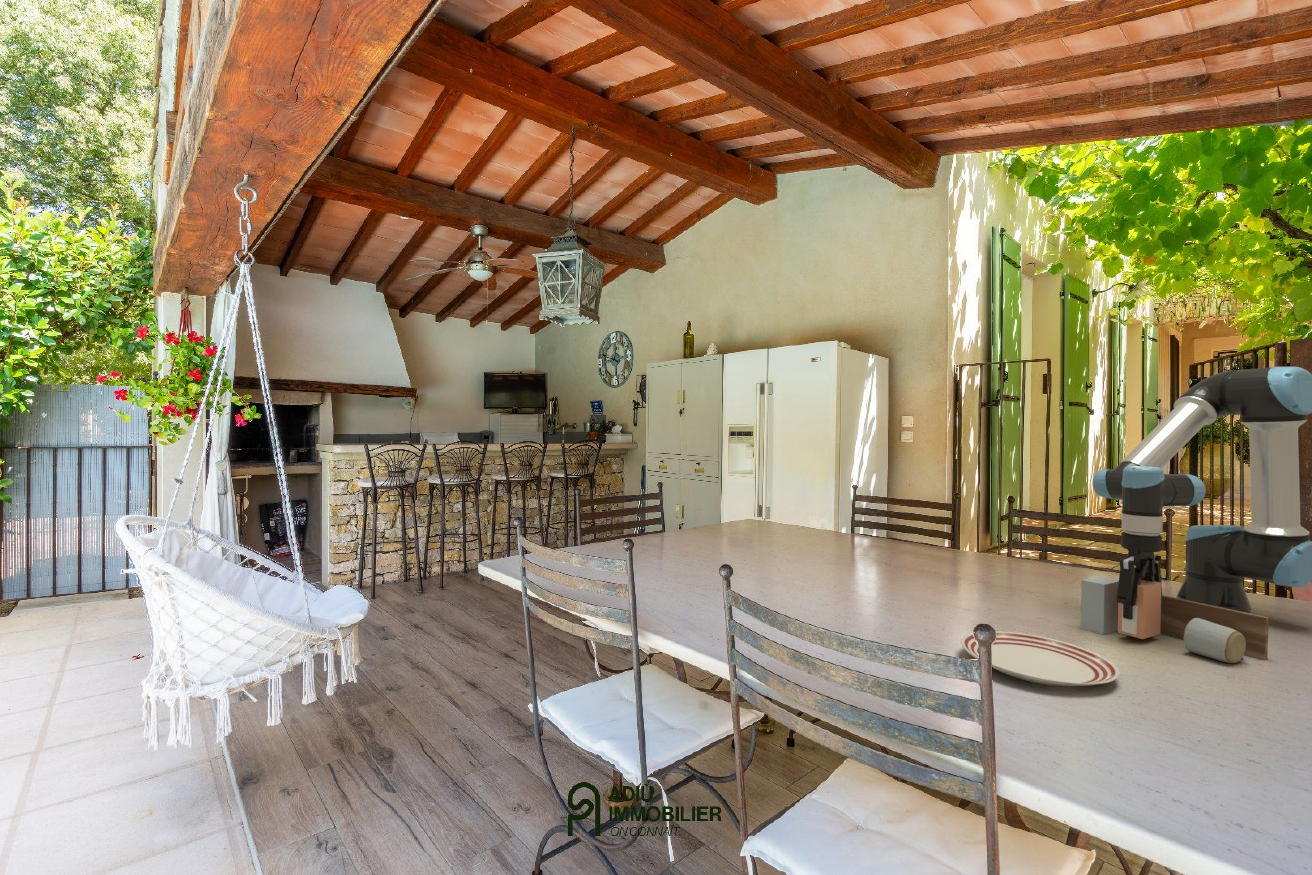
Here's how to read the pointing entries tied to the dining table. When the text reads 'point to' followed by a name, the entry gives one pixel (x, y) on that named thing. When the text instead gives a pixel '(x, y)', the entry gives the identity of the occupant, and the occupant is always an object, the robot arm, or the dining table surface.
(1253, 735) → the dining table surface
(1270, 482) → the robot arm
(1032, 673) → the dinner plate
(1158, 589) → the tan rectangular block
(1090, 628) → the light grey rectangular block
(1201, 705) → the dining table surface
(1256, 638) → the brown wooden board
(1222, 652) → the ceramic mug
